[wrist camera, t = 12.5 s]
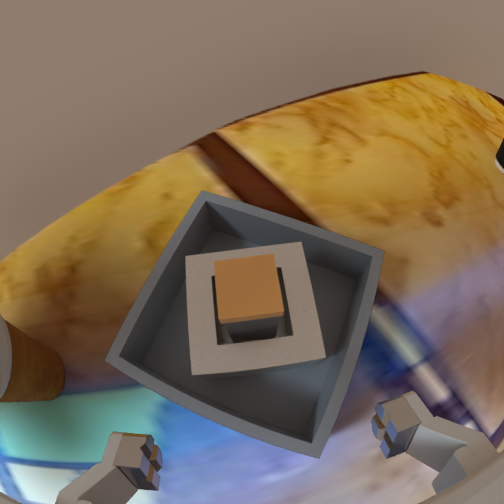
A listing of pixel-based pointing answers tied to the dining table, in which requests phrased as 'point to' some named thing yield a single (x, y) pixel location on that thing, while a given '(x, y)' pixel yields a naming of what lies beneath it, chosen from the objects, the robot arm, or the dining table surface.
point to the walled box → (263, 385)
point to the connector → (248, 297)
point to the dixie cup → (500, 158)
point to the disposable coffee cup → (27, 368)
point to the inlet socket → (262, 350)
